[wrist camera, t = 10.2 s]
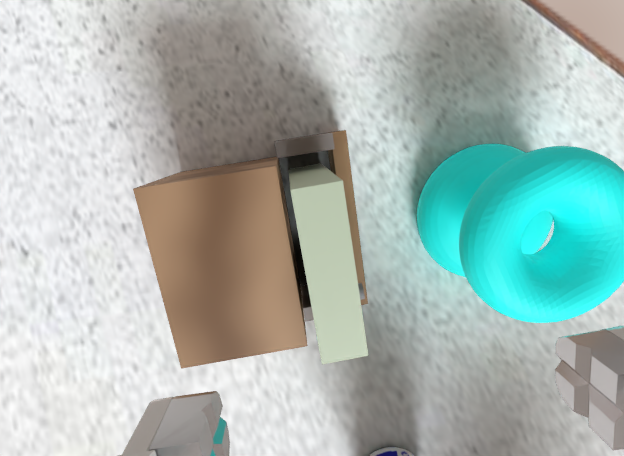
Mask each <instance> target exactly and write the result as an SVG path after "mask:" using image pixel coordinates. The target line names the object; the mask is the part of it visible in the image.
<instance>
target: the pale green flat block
mask: <svg viewBox="0 0 624 456" xmlns="http://www.w3.org/2000/svg"><path fill="white" fill-rule="evenodd" d="M288 170H289V181H290V191H291V197H292V202H293V208H294V213H295V219H296V224H297V230H298V235H299V241H300V246H301V252H302V257H303V263H304V268H305V274H306V279H307V285H308V290H309V296H310V301H311V307H312V312H313V318H314V323H315V329H316V334H317V340H318V345H319V351H320V356H321V362H322V364H327V363H333V362H338V361H343V360H349V359H354V358H359V357H365V356H369V355H368V349H367V342H366V335H365V328H364V321H363V315H362V308H361V301H360V300H362V299H365V295H364V289H363V286H362V283H358V280H357V274H356V267H355V260H354V253H353V246H352V240H351V233H350V226H349V219H348V212H347V206H346V199H345V192H344V185H343V180H341V179H340V178H339V177H338V176H336V175H335V174H334V173H332V172H331V171H330V170H329V169H327V168H326V167H325V166H324V165H322V164H321V163H320V164H315V165H309V166H303V167H297V168H292V169H288Z"/></svg>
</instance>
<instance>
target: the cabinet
mask: <svg viewBox="0 0 624 456" xmlns="http://www.w3.org/2000/svg"><path fill="white" fill-rule="evenodd" d="M275 148H276V154H277V157H272V158H266V159H259V160H253V161H247V162H240V163H234V164H228V165H222V166H215V167H209V168H203V169H197V170H190V171H184V172H180V173H177V174H174V175H171V176H168V177H165V178H163V179H160V180H157V181H154V182H151V183H148V184H146V185H143V186H140V187H137V188H134V189H133V190H134V194H135V198H136V201H137V205H138V209H139V213H140V216H141V220H142V224H143V227H144V231H145V235H146V239H147V242H148V246H149V250H150V253H151V257H152V261H153V265H154V268H155V272H156V276H157V280H158V283H159V287H160V291H161V294H162V298H163V302H164V306H165V309H166V313H167V317H168V321H169V324H170V328H171V332H172V335H173V339H174V343H175V347H176V350H177V354H178V358H179V361H180V365H181V368H186V367H192V366H198V365H203V364H209V363H214V362H220V361H226V360H231V359H237V358H243V357H248V356H254V355H260V354H265V353H271V352H277V351H282V350H288V349H294V348H299V347H305V346H307V338H306V330H305V321H311V320H314V318H313V312H312V307H311V301H310V296H309V290H308V285H303V286H300V280H299V274H298V268H297V262H296V256H295V251H294V245H293V239H292V233H291V227H290V221H289V216H288V210H287V204H286V198H285V192H284V186H283V181H282V175H281V169H280V163H279V158H282V157H288V156H294V155H301V154H307V153H313V152H319V151H326V150H328V155H329V162H330V169H331V172H332V173H334V174H335V175H336V176H338V177H339V178H340V179H341V180H343V185H344V192H345V199H346V206H347V212H348V219H349V226H350V233H351V240H352V246H353V253H354V260H355V267H356V274H357V280H358V283H362V286H363V289H364V295H365V299H362V300H360V301H361V305H364V304H368V301H367V293H366V285H365V277H364V269H363V262H362V254H361V246H360V238H359V230H358V222H357V214H356V206H355V198H354V191H353V183H352V175H351V167H350V159H349V151H348V143H347V135H346V130H344V131H336V132H329V133H323V134H317V135H310V136H304V137H298V138H291V139H285V140H279V141H275ZM301 294H302V295H301ZM303 310H304V312H303ZM304 316H305V321H304Z"/></svg>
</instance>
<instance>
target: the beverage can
mask: <svg viewBox="0 0 624 456" xmlns="http://www.w3.org/2000/svg"><path fill="white" fill-rule="evenodd" d="M369 456H414V455H413V454H412V453H411V452H409V451H408V450H405V449H402V448H398V447H386V448H382V449H379V450H377V451H375V452H373V453H372V454H370V455H369Z"/></svg>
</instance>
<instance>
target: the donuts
mask: <svg viewBox="0 0 624 456" xmlns="http://www.w3.org/2000/svg"><path fill="white" fill-rule="evenodd" d="M553 220H554V231H553V235H552V237H551V239H550V241H549V242H548V244H547V245H546V246H545V247H544V248H543V249H542V250H540V251H538V250H539V248H540V247H541V246H542V244H543V243H544V241H545V239H546V238H547V236H548V233H549V231H550V229H551V226H552V222H553ZM417 226H418V231H419V235H420V238H421V241H422V243H423V245H424V247H425V249H426V250H427V252H428V253H429V255H430V256H431V257H432V258H433V259H434V260H435V261H436V262H437V263H438V264H439V265H440V266H442V267H443V268H445V269H446V270H448V271H450V272H452V273H454V274H457V275H460V276H464V277H466V278H467V280H468V282H469V283H470V285H471V287H472V288H473V290H474V291H475V292H476V294H477V295H478V296H479V297H480V298H481V299H482V300H483V301H484V302H485V303H487V304H488V305H489V306H490V307H492V308H493V309H495V310H496V311H498V312H500V313H502V314H504V315H506V316H509V317H511V318H514V319H517V320H521V321H526V322H534V323H548V322H558V321H563V320H567V319H570V318H573V317H576V316H579V315H581V314H583V313H585V312H587V311H589V310H591V309H593V308H594V307H596V306H597V305H599V304H600V303H602V302H603V301H605V300H606V299H607V298H608V297H609V296H611V295H612V294H613V293H614V292H615V291H616V290H617V289H618V288H619V287H620V285H621V284H622V283H623V282H624V171H623V170H622V169H621V168H620V167H619V166H618V165H617V164H615V163H614V162H613V161H611V160H610V159H608V158H606V157H605V156H602V155H600V154H598V153H596V152H593V151H590V150H587V149H583V148H578V147H568V146H554V147H546V148H541V149H537V150H534V151H530V152H527V153H525V152H523V151H521V150H519V149H517V148H514V147H511V146H508V145H503V144H481V145H475V146H472V147H469V148H466V149H463V150H461V151H459V152H457V153H455V154H454V155H452V156H451V157H449V158H448V159H446V160H445V161H444V162H443V163H441V164H440V165H439V166H438V167H437V168H436V170H435V171H434V172H433V173H432V174H431V176H430V177H429V179H428V180H427V182H426V184H425V186H424V188H423V190H422V192H421V195H420V198H419V202H418V208H417ZM537 251H538V252H537ZM536 252H537V253H536Z"/></svg>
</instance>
